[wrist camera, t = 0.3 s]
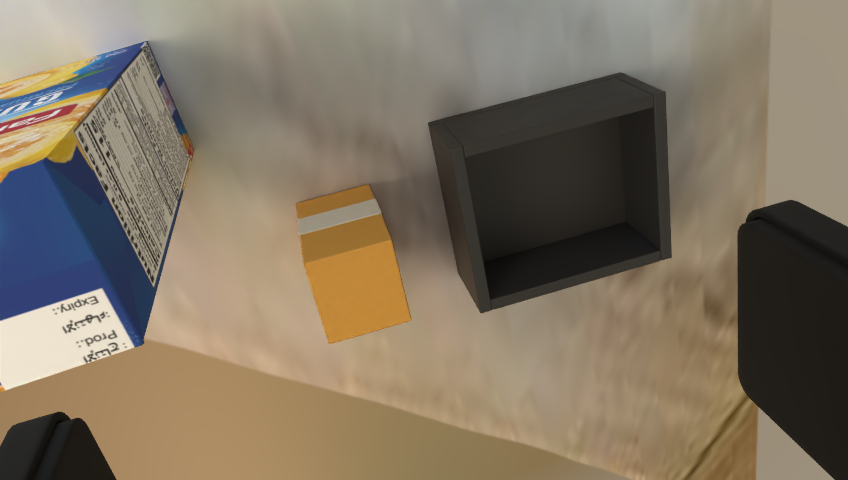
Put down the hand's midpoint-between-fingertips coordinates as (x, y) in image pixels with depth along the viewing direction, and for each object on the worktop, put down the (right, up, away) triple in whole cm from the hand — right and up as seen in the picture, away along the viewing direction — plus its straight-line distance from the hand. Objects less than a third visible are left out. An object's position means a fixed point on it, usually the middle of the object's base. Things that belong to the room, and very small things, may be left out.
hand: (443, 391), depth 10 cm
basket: (+8, +7, +39) cm, 40 cm away
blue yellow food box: (-20, +9, +31) cm, 39 cm away
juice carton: (-6, +3, +38) cm, 38 cm away
